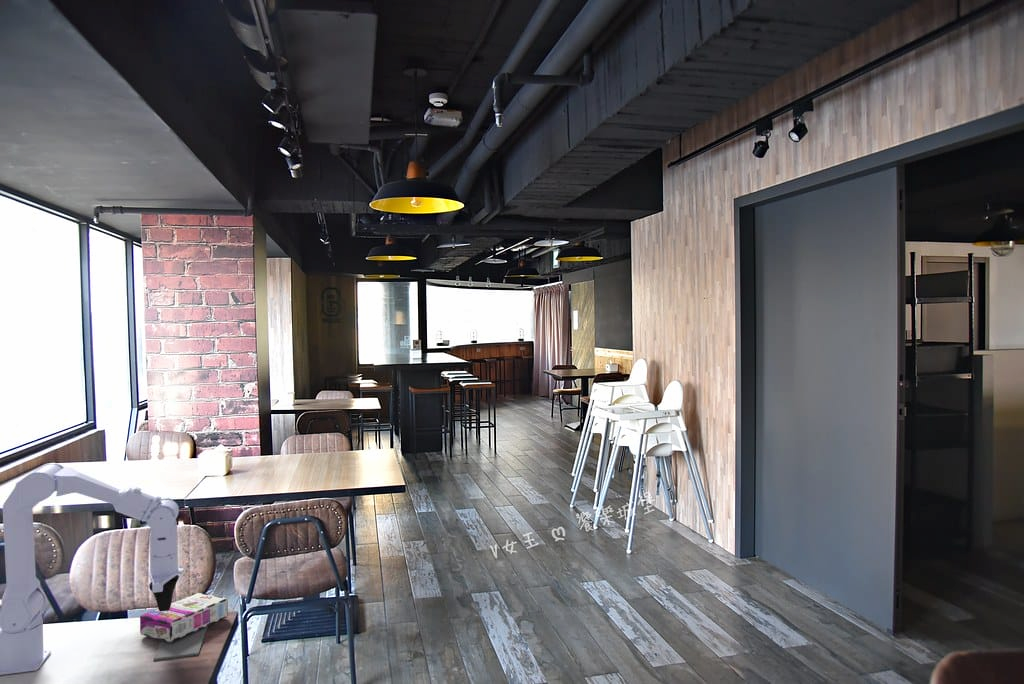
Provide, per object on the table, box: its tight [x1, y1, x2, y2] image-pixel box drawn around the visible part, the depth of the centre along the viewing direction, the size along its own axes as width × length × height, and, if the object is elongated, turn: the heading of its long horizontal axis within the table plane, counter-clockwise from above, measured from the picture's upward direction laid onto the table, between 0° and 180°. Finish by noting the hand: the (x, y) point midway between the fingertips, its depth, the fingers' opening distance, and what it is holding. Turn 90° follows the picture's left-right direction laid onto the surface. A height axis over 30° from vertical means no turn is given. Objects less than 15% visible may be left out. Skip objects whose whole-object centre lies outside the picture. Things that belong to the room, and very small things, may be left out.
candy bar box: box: [139, 592, 229, 642], centre depth 161 cm, size 11×5×16 cm
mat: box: [153, 625, 209, 661], centre depth 154 cm, size 9×14×1 cm, turn 17°
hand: (164, 609), depth 153 cm, fingers closed
